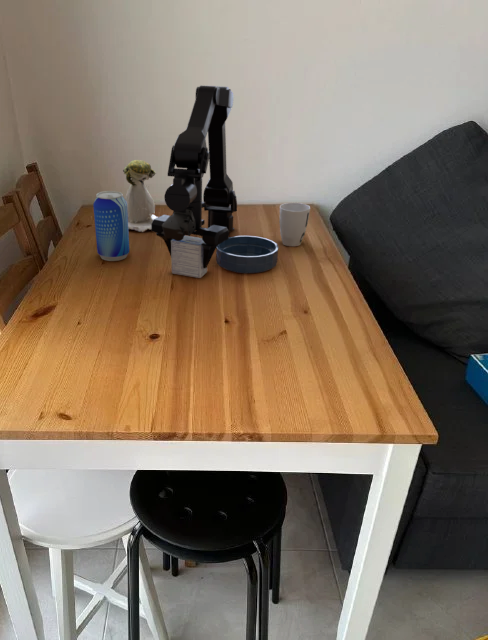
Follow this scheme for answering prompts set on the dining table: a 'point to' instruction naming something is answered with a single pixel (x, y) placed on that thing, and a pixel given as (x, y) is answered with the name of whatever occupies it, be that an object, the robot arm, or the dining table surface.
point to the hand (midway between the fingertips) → (189, 264)
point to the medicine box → (188, 257)
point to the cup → (293, 222)
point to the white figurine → (139, 196)
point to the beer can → (111, 225)
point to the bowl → (247, 254)
